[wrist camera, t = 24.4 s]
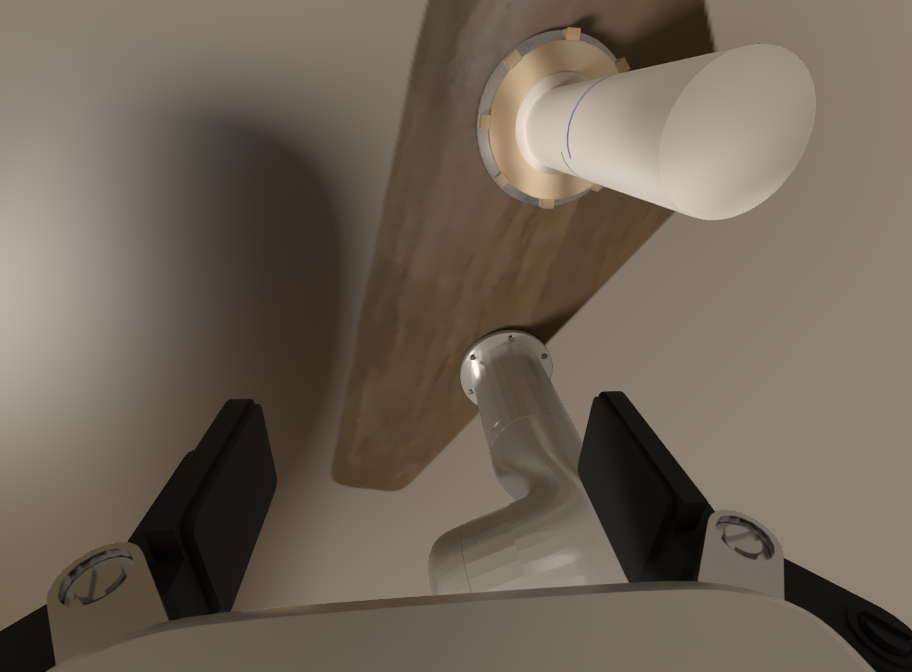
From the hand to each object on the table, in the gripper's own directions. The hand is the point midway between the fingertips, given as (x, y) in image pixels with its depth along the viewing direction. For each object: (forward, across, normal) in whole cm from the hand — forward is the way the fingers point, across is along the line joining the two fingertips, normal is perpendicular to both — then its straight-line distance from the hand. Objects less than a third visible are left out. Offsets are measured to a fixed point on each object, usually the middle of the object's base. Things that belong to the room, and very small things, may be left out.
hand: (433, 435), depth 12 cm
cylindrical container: (+35, -14, -8) cm, 39 cm away
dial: (+37, -14, -8) cm, 40 cm away
